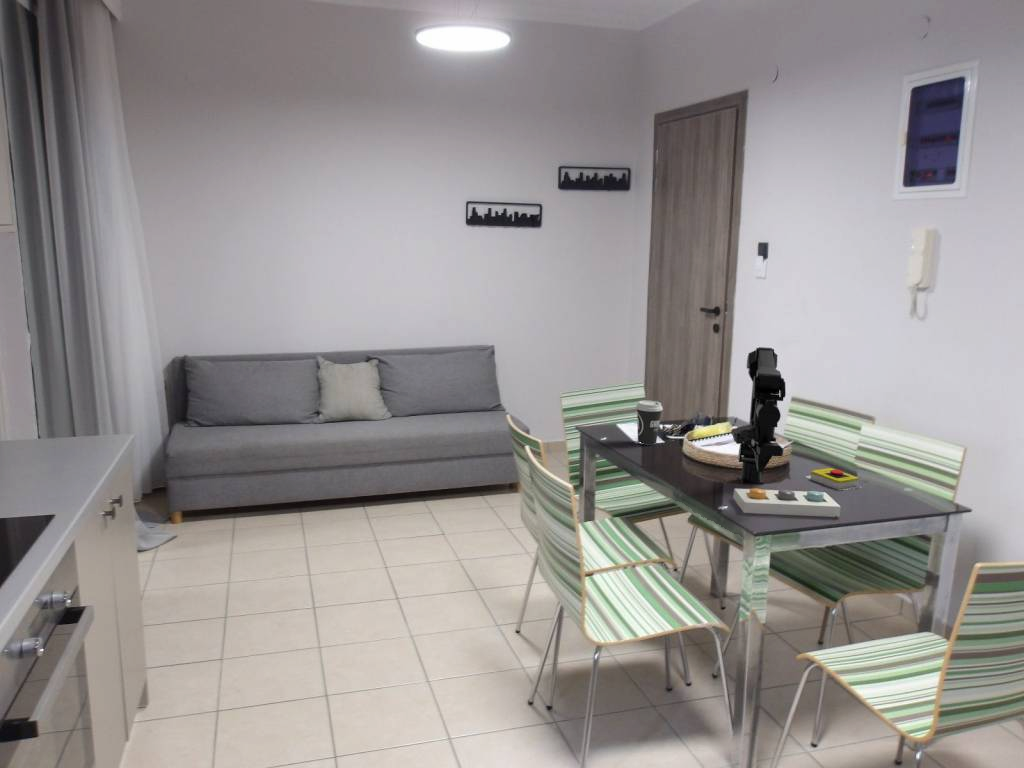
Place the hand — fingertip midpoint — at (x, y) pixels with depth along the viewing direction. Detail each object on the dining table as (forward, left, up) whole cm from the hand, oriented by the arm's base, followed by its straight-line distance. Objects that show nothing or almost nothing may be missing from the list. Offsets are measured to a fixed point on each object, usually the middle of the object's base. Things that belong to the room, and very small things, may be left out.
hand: (759, 471), depth 223 cm
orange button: (0, 0, -8) cm, 8 cm away
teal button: (0, +16, -8) cm, 18 cm away
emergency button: (-26, +31, -11) cm, 42 cm away
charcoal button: (0, +8, -8) cm, 11 cm away
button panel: (0, +8, -10) cm, 13 cm away
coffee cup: (-64, -23, -10) cm, 69 cm away
